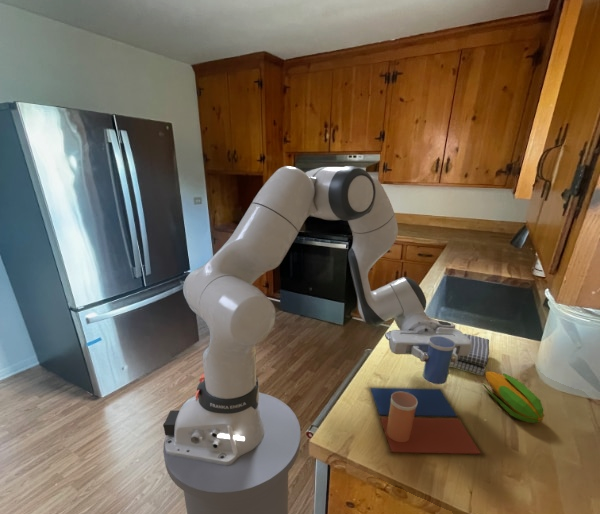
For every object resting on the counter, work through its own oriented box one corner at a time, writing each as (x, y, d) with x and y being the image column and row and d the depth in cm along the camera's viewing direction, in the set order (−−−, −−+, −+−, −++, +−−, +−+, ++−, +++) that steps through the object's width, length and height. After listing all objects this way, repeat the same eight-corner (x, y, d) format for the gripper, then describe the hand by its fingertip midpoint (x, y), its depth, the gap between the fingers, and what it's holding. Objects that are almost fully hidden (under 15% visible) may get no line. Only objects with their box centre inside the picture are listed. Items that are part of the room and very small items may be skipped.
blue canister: (426, 384, 78) (434, 347, 75) (418, 370, 84) (425, 335, 80) (451, 384, 78) (459, 348, 75) (441, 370, 84) (449, 336, 80)
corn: (531, 406, 77) (478, 360, 96) (520, 431, 80) (470, 382, 98) (558, 405, 78) (500, 360, 97) (546, 430, 81) (492, 382, 100)
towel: (432, 365, 107) (437, 344, 104) (440, 341, 122) (444, 322, 119) (485, 379, 100) (491, 357, 97) (486, 352, 115) (491, 332, 112)
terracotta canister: (389, 442, 76) (394, 407, 72) (383, 424, 81) (388, 391, 77) (414, 443, 76) (421, 408, 72) (406, 424, 81) (412, 391, 77)
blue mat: (379, 415, 84) (379, 414, 84) (370, 388, 95) (370, 388, 94) (456, 416, 85) (456, 415, 84) (439, 390, 95) (440, 389, 95)
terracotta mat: (391, 452, 73) (391, 451, 73) (380, 418, 83) (380, 417, 83) (480, 454, 73) (480, 453, 73) (458, 419, 84) (458, 418, 84)
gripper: (384, 321, 90) (398, 346, 77) (459, 323, 90) (485, 348, 77) (381, 341, 92) (394, 369, 79) (454, 343, 92) (479, 371, 79)
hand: (440, 359), depth 78 cm, fingers closed on blue canister, 5 cm apart
